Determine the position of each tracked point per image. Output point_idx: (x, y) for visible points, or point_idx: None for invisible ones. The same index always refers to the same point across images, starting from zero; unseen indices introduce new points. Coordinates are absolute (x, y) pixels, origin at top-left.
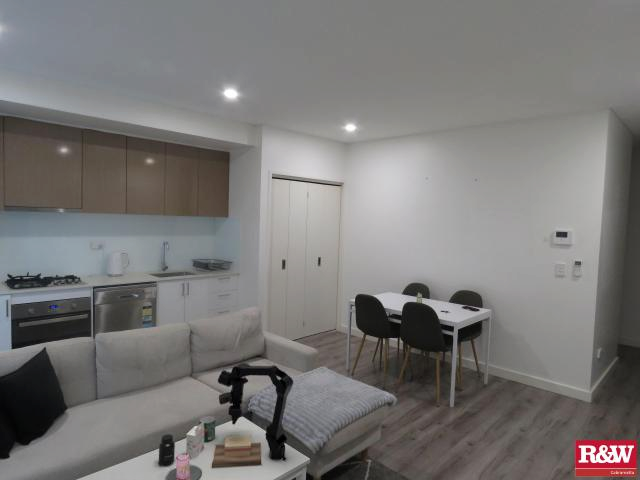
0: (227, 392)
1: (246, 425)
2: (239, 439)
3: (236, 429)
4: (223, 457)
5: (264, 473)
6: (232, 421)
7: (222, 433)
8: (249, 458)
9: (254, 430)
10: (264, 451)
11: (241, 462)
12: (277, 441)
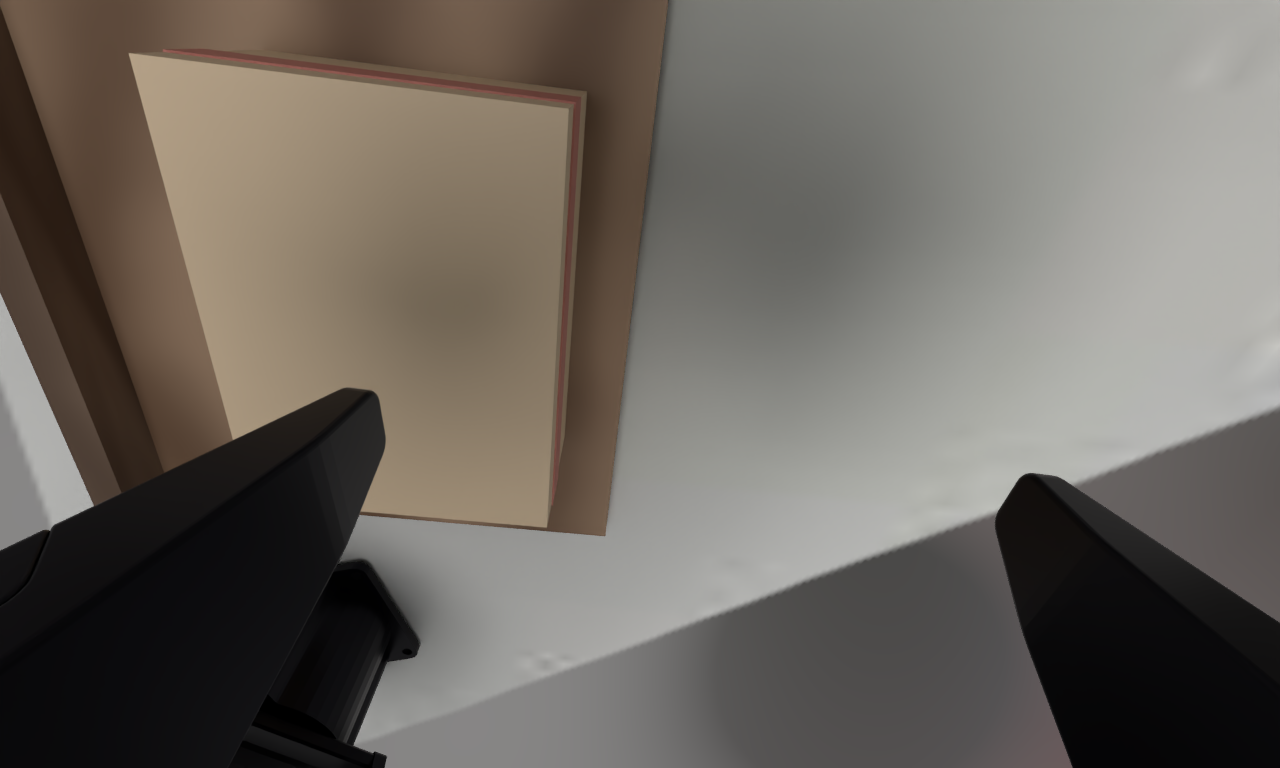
0: None
1: (1120, 421)
2: (432, 363)
3: (1092, 288)
4: (249, 30)
5: (57, 494)
6: (219, 460)
7: (1096, 48)
8: None
9: (941, 492)
10: (464, 535)
11: (16, 312)
12: (318, 762)
